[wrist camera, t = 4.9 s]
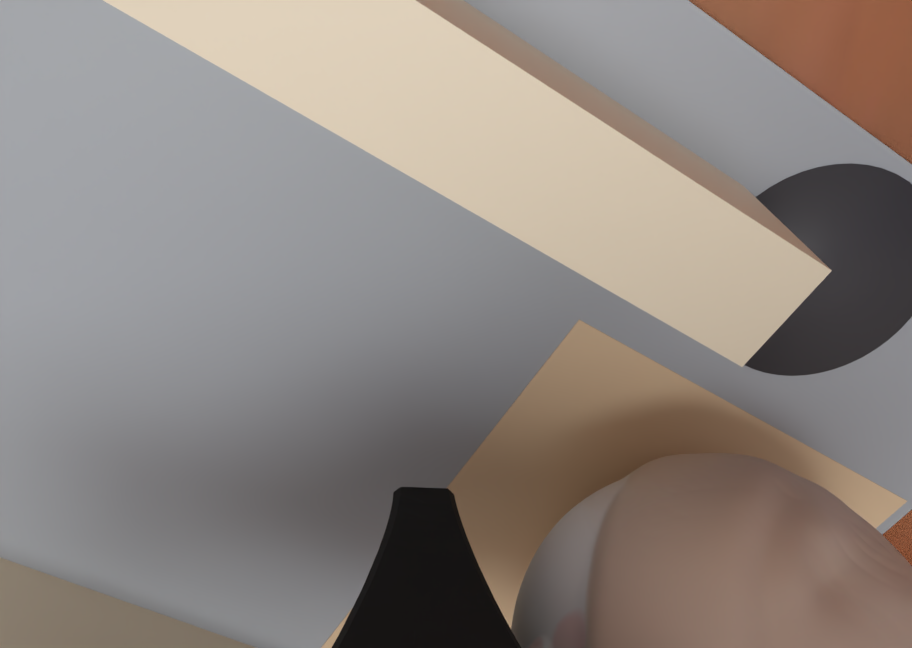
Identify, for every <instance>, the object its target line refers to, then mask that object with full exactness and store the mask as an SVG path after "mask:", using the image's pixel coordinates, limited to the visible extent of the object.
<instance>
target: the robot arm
mask: <svg viewBox="0 0 912 648" xmlns="http://www.w3.org/2000/svg"><path fill="white" fill-rule="evenodd" d="M332 648H521V646H520V644H519V643H518V641H517V639H516V637H515V636H514V634H513V632H512V630H511V629H510V627H509V625H508V623H507V621H506V620H505V618H504V616H503V614H502V612H501V610H500V608H499V606H498V604H497V602H496V601H495V599H494V597H493V594H492V592H491V590H490V588H489V586H488V584H487V582H486V580H485V578H484V575H483V573H482V571H481V569H480V567H479V565H478V562H477V560H476V558H475V555H474V553H473V551H472V548H471V546H470V543H469V541H468V538H467V535H466V533H465V530H464V527H463V524H462V521H461V518H460V515H459V512H458V508H457V505H456V501H455V496H454V494H453V493H452V492H451V491H450V490H449V489H448V488H423V487H400V488H398V489H397V490H396V491H394V492H393V502H392V507H391V511H390V516H389V519H388V523H387V526H386V530H385V533H384V535H383V538H382V541H381V544H380V547H379V550H378V552H377V555H376V557H375V559H374V562H373V564H372V567H371V569H370V571H369V574H368V576H367V579H366V581H365V583H364V586H363V588H362V590H361V592H360V594H359V596H358V598H357V600H356V602H355V604H354V606H353V608H352V610H351V612H350V614H349V616H348V618H347V620H346V622H345V624H344V626H343V628H342V630H341V632H340V633H339V635H338V637H337V639H336V641H335V642H334V644H333V646H332Z"/></svg>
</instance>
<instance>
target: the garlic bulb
mask: <svg viewBox="0 0 912 648" xmlns="http://www.w3.org/2000/svg"><path fill="white" fill-rule="evenodd" d="M511 630H512V632H513V634H514V636H515V637H516V639H517V641H518V643H519V644H520V646H521V648H912V566H911V565H910V564H909V562H908V561H907V560H906V559H905V558H904V557H903V556H902V554H901V553H900V552H899V551H898V550H897V549H896V548H895V547H894V546H893V545H892V544H891V543H890V542H889V541H888V540H887V539H886V538H885V537H884V536H883V535H882V534H881V533H880V532H879V531H878V530H876V529H875V528H874V527H873V526H872V525H871V524H870V523H868V522H867V521H866V520H865V519H863V518H862V517H861V516H859V515H858V514H857V513H855V512H854V511H853V510H852V509H851V508H849V507H848V506H847V505H846V504H845V503H844V502H842V501H841V500H840V499H839V498H838V497H836V496H835V495H834V494H832V493H831V492H829V491H828V490H826V489H825V488H823V487H821V486H819V485H818V484H816V483H814V482H812V481H810V480H807V479H805V478H803V477H800V476H798V475H796V474H794V473H792V472H790V471H788V470H786V469H784V468H782V467H780V466H778V465H776V464H774V463H771V462H769V461H766V460H763V459H760V458H757V457H753V456H748V455H742V454H730V453H698V454H677V455H670V456H665V457H661V458H658V459H655V460H652V461H650V462H648V463H646V464H644V465H642V466H641V467H639V468H638V469H636V470H634V471H633V472H631V473H630V474H629V475H627V476H626V477H624V478H622V479H621V480H618V481H616V482H614V483H612V484H610V485H607V486H605V487H604V488H602V489H600V490H598V491H596V492H595V493H593V494H591V495H590V496H588V497H587V498H585V499H584V500H582V501H581V502H580V503H578V504H577V505H576V506H575V507H573V508H572V509H571V510H570V511H569V512H568V513H566V514H565V515H564V516H563V517H562V518H561V519H560V520H559V521H558V523H557V524H556V525H555V526H554V527H553V528H552V530H551V531H550V532H549V533H548V535H547V536H546V537H545V539H544V540H543V542H542V543H541V545H540V546H539V548H538V550H537V551H536V553H535V555H534V557H533V558H532V560H531V562H530V564H529V567H528V569H527V571H526V573H525V576H524V578H523V581H522V583H521V586H520V589H519V593H518V596H517V600H516V604H515V608H514V613H513V619H512V626H511Z"/></svg>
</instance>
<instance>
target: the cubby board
mask: <svg viewBox="0 0 912 648" xmlns="http://www.w3.org/2000/svg"><path fill="white" fill-rule="evenodd" d="M698 453H730V454H742V455H748V456H753V457H757V458H760V459H763V460H766V461H769V462H771V463H774V464H776V465H778V466H780V467H782V468H784V469H786V470H788V471H790V472H792V473H794V474H796V475H798V476H800V477H803V478H805V479H807V480H810V481H812V482H814V483H816V484H818V485H819V486H821V487H823V488H825V489H826V490H828V491H829V492H831V493H832V494H834V495H835V496H836V497H838V498H839V499H840V500H841V501H842V502H844V503H845V504H846V505H847V506H848V507H849V508H851V509H852V510H853V511H854V512H855V513H857V514H858V515H859V516H861V517H862V518H863V519H865V520H866V521H867V522H868V523H870V524H871V525H872V526H873V527H874V528H875V529H876V530H878V531H879V532H880V533H881V534H884V533H885V532H886V531H887V530H888V529H889V528H891V527H892V526H893V525H894V524H895V523H896V522H898V521H899V520H900V519H901V518H902V517H903V516H905V515H906V514H907V513H908V512H909V511H910V510H912V164H910V163H909V162H908V161H906V160H905V159H904V158H902V157H901V156H899V155H898V154H897V153H895V152H894V151H893V150H891V149H890V148H889V147H887V146H886V145H884V144H883V143H882V142H880V141H879V140H878V139H876V138H875V137H874V136H872V135H871V134H869V133H868V132H867V131H865V130H864V129H863V128H861V127H860V126H859V125H857V124H856V123H854V122H853V121H852V120H850V119H849V118H848V117H846V116H845V115H844V114H842V113H841V112H840V111H838V110H837V109H835V108H834V107H833V106H831V105H830V104H829V103H827V102H826V101H825V100H823V99H822V98H820V97H819V96H818V95H816V94H815V93H814V92H812V91H811V90H810V89H808V88H807V87H805V86H804V85H803V84H801V83H800V82H799V81H797V80H796V79H795V78H793V77H792V76H790V75H789V74H788V73H786V72H785V71H784V70H782V69H781V68H780V67H778V66H777V65H775V64H774V63H773V62H771V61H770V60H769V59H767V58H766V57H765V56H763V55H762V54H760V53H759V52H758V51H756V50H755V49H754V48H752V47H751V46H750V45H748V44H747V43H746V42H744V41H743V40H741V39H740V38H739V37H737V36H736V35H735V34H733V33H732V32H731V31H729V30H728V29H726V28H725V27H724V26H722V25H721V24H720V23H718V22H717V21H716V20H714V19H713V18H711V17H710V16H709V15H707V14H706V13H705V12H703V11H702V10H701V9H699V8H698V7H696V6H695V5H694V4H692V3H691V2H690V1H688V0H0V648H332V646H333V644H334V642H335V641H336V639H337V637H338V635H339V633H340V632H341V630H342V628H343V626H344V624H345V622H346V620H347V618H348V616H349V614H350V612H351V610H352V608H353V606H354V604H355V602H356V600H357V598H358V596H359V594H360V592H361V590H362V588H363V586H364V583H365V581H366V579H367V576H368V574H369V571H370V569H371V567H372V564H373V562H374V559H375V557H376V555H377V552H378V550H379V547H380V544H381V541H382V538H383V535H384V533H385V530H386V526H387V523H388V519H389V516H390V511H391V507H392V502H393V492H394V491H396V490H397V489H398V488H400V487H423V488H448V489H449V490H450V491H451V492H452V493H453V494H454V496H455V501H456V505H457V508H458V512H459V515H460V518H461V521H462V524H463V527H464V530H465V533H466V535H467V538H468V541H469V543H470V546H471V548H472V551H473V553H474V555H475V558H476V560H477V562H478V565H479V567H480V569H481V571H482V573H483V575H484V578H485V580H486V582H487V584H488V586H489V588H490V590H491V592H492V594H493V597H494V599H495V601H496V602H497V604H498V606H499V608H500V610H501V612H502V614H503V616H504V618H505V620H506V621H507V623H508V625H509V627H510V629H511V626H512V619H513V613H514V608H515V604H516V600H517V596H518V593H519V589H520V586H521V583H522V581H523V578H524V576H525V573H526V571H527V569H528V567H529V564H530V562H531V560H532V558H533V557H534V555H535V553H536V551H537V550H538V548H539V546H540V545H541V543H542V542H543V540H544V539H545V537H546V536H547V535H548V533H549V532H550V531H551V530H552V528H553V527H554V526H555V525H556V524H557V523H558V521H559V520H560V519H561V518H562V517H563V516H564V515H565V514H566V513H568V512H569V511H570V510H571V509H572V508H573V507H575V506H576V505H577V504H578V503H580V502H581V501H582V500H584V499H585V498H587V497H588V496H590V495H591V494H593V493H595V492H596V491H598V490H600V489H602V488H604V487H605V486H607V485H610V484H612V483H614V482H616V481H618V480H621V479H622V478H624V477H626V476H627V475H629V474H630V473H631V472H633V471H634V470H636V469H638V468H639V467H641V466H642V465H644V464H646V463H648V462H650V461H652V460H655V459H658V458H661V457H665V456H670V455H677V454H698Z"/></svg>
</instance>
